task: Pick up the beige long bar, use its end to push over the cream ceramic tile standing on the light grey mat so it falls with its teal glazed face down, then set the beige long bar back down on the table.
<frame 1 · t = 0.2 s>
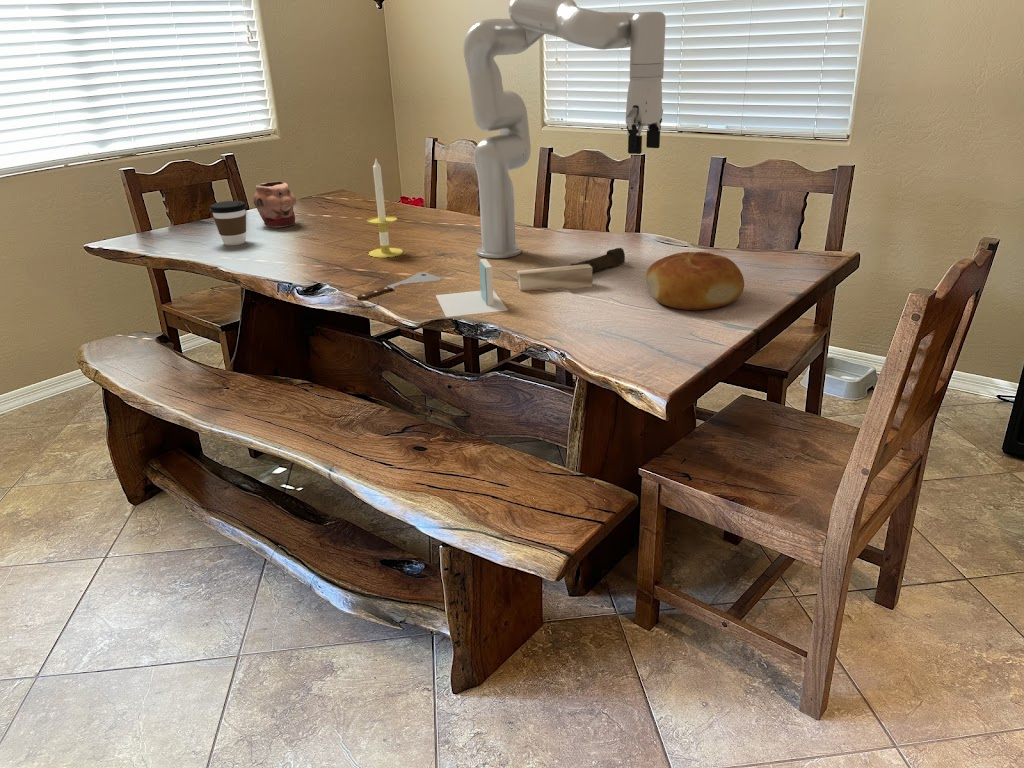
hand: (643, 150, 183), 31 cm above the table, tool pointing down, fingers open, 9 cm apart
candle: (385, 254, 225), on the table
kitchen cleaver: (402, 290, 194), on the table
beige long bar: (555, 288, 190), on the table
bread: (691, 298, 181), on the table
rusty brown spike: (598, 271, 203), on the table
decorative planter: (277, 225, 263), on the table
mat: (470, 304, 181), on the table
coffee cup: (234, 243, 242), on the table
tile: (487, 300, 181), point 1 cm above the table, touching mat
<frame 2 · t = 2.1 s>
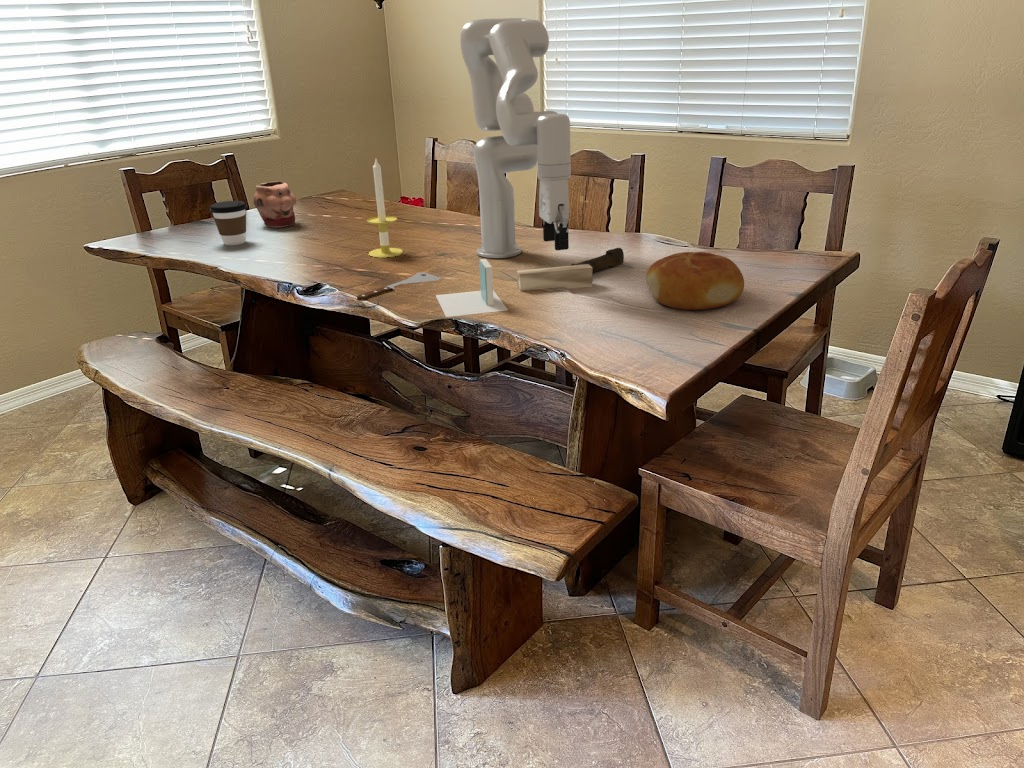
hand: (555, 245, 185), 11 cm above the table, tool pointing down, fingers open, 9 cm apart
nothing on the table moved.
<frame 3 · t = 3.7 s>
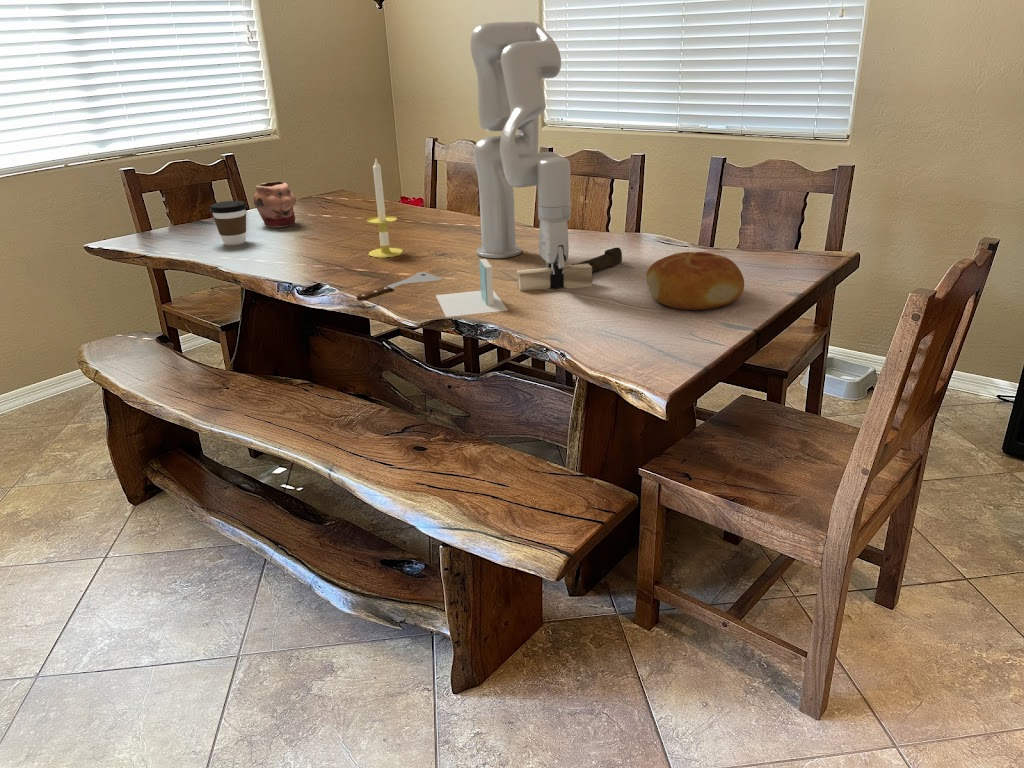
hand: (555, 287, 190), 0 cm above the table, tool pointing down, fingers closed on beige long bar, 2 cm apart
beige long bar: (554, 288, 190), on the table, touching gripper
everything else where it was.
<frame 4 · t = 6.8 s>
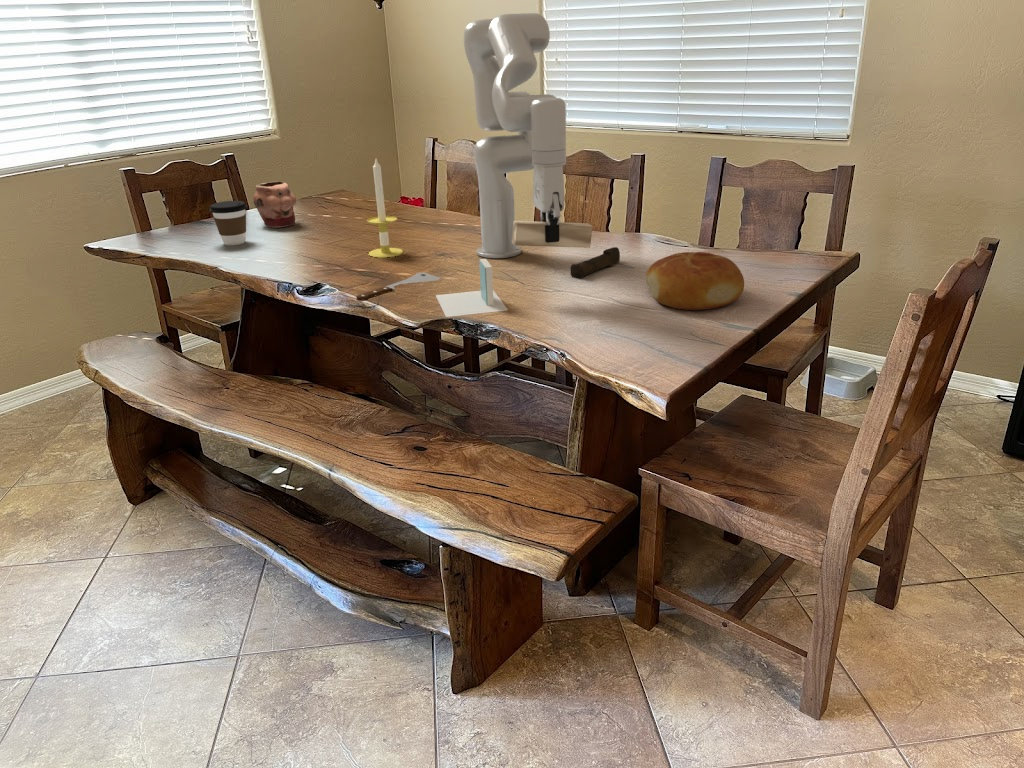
hand: (550, 239, 179), 14 cm above the table, tool pointing down, fingers closed on beige long bar, 2 cm apart
beige long bar: (551, 245, 180), point 12 cm above the table, tilted 7°, touching gripper
everything else where it was.
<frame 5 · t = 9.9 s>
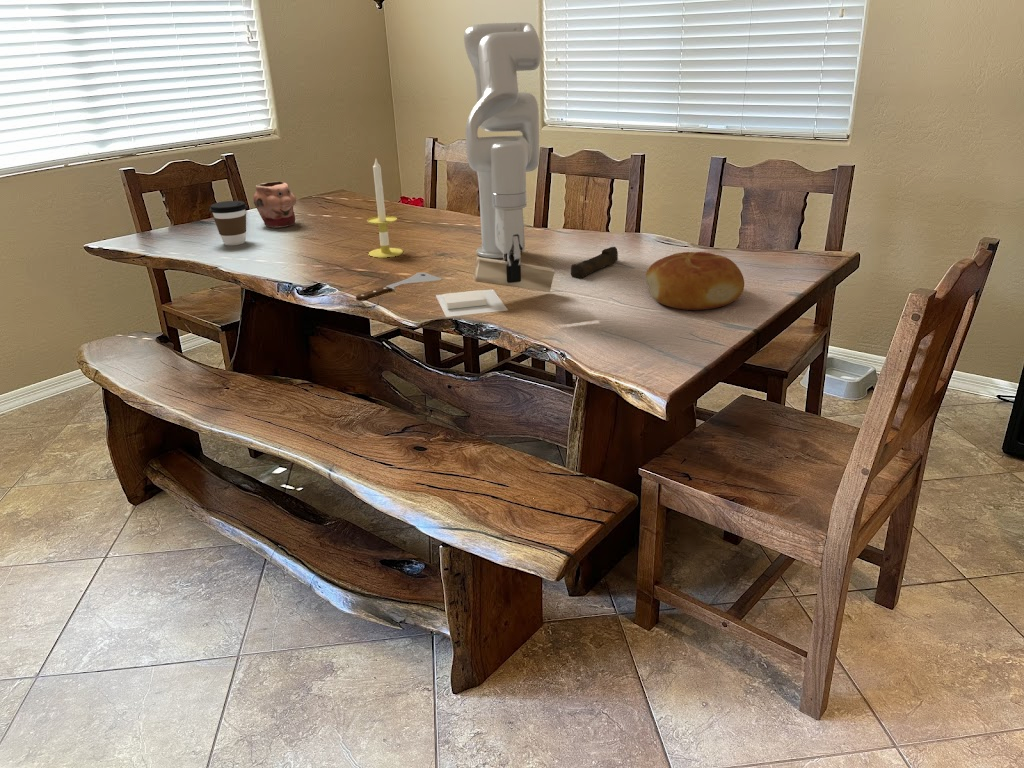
hand: (512, 279, 180), 5 cm above the table, tool pointing down, fingers closed on beige long bar, 2 cm apart
beige long bar: (511, 285, 181), point 4 cm above the table, tilted 14°, touching gripper
tile: (483, 297, 181), point 1 cm above the table, tilted 90°, touching mat
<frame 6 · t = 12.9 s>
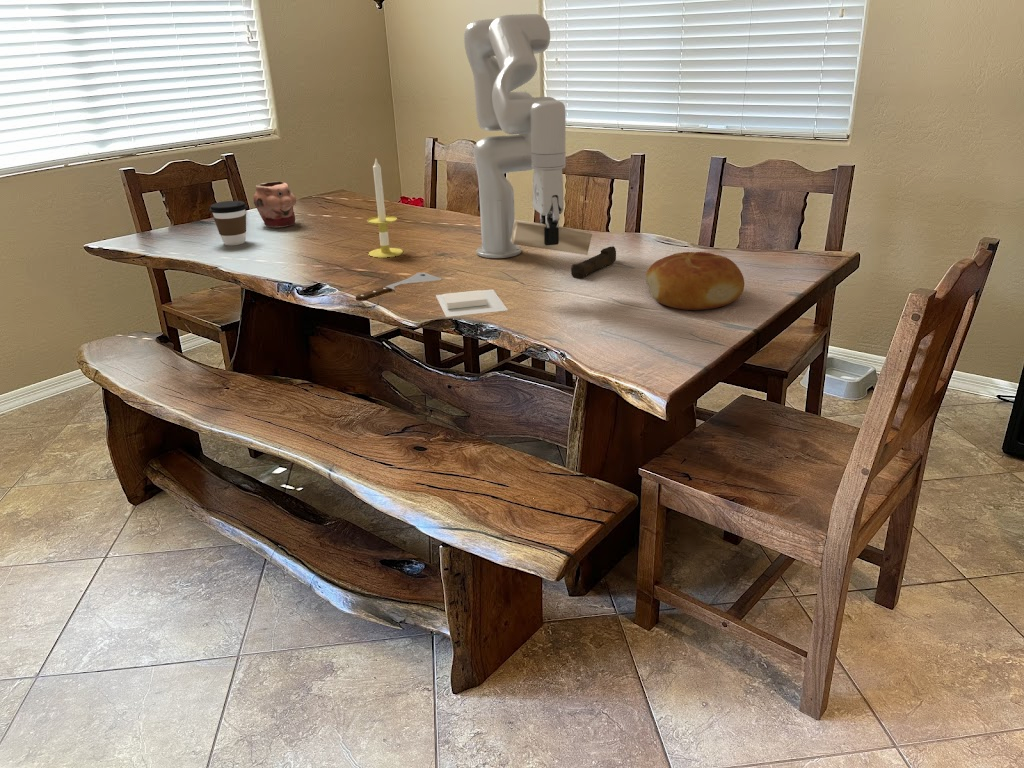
hand: (549, 241, 179), 13 cm above the table, tool pointing down, fingers closed on beige long bar, 3 cm apart
beige long bar: (549, 248, 180), point 12 cm above the table, tilted 13°, touching gripper
when the fingers open (2 cm above the table, at t = 15.8 s): beige long bar drops 1 cm, on the table.
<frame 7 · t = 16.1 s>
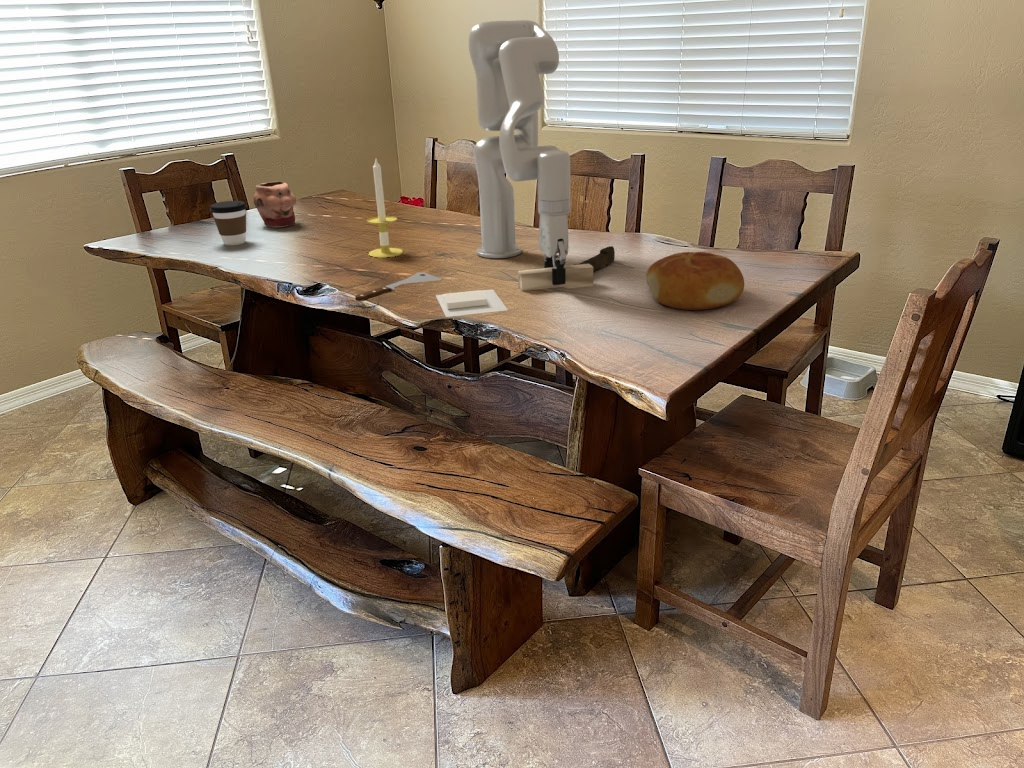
hand: (554, 279, 189), 2 cm above the table, tool pointing down, fingers open, 6 cm apart
beige long bar: (556, 288, 190), on the table
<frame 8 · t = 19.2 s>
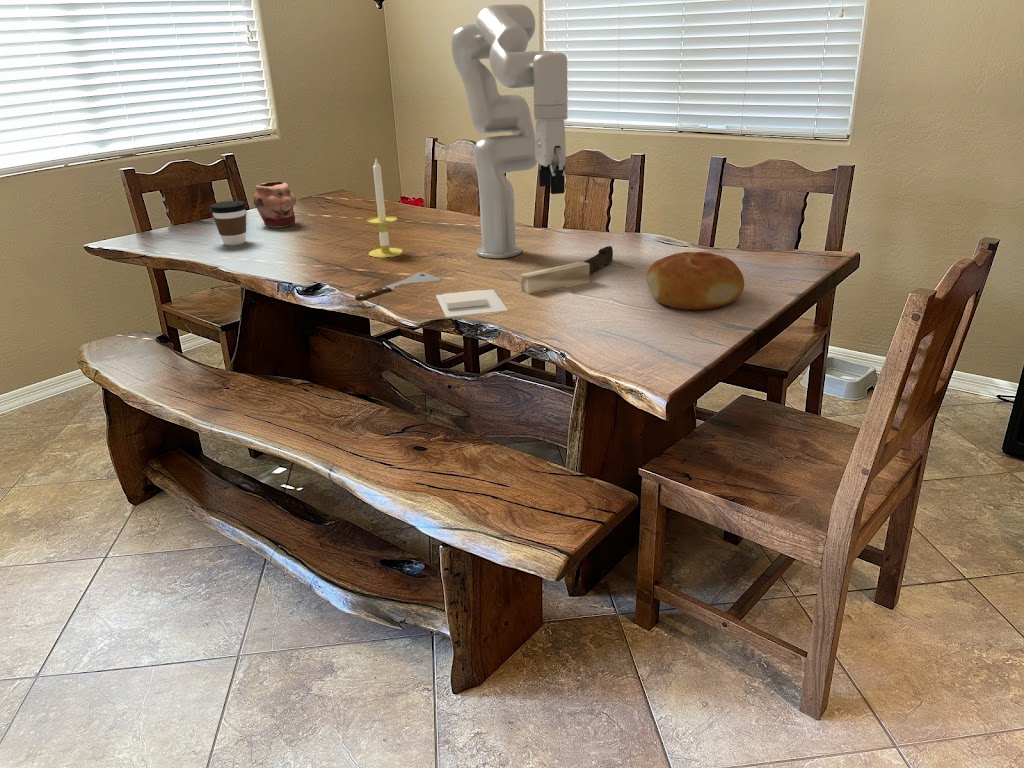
hand: (551, 189, 182), 23 cm above the table, tool pointing down, fingers open, 9 cm apart
at the end: tile tilted 90°; tile inside the target area on the mat (3.1 cm from its centre), point 1.5 cm above the mat's base; beige long bar touching table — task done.
